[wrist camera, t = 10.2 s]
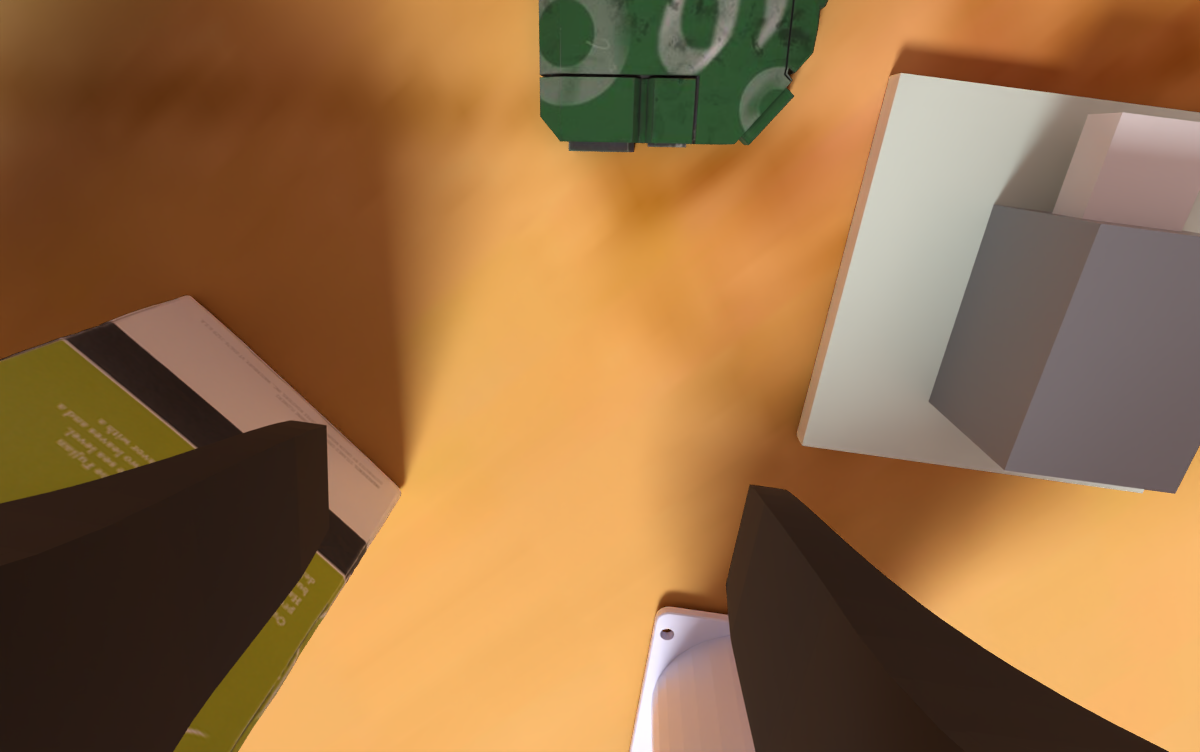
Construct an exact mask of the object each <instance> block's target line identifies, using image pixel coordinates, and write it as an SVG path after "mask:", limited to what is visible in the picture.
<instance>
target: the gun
mask: <svg viewBox="0 0 1200 752" xmlns="http://www.w3.org/2000/svg"><path fill="white" fill-rule="evenodd" d="M827 2H828V0H539V44H540V75H541V76H543V77H542V78H540V117H541V118H542V119H543V120H544V121H545V123H546V124H547V125H548V126H549V128H550V129H551V130H552V131H553V133H554V134H555V135H556V136H557V138H558V139H559V140H560V141H569V151H600V152H634V143H648V147H686V144H735V143H736V142H737V141H738V140H740V141H741V142H742V143H743V144H744V145H749V144H750V143H751V142H752V141H753V140H754V139H755V138H756V137H757V136H758V135H759V134H760V132H761V131H762V130H763V129H764V128H765V127H766V126H767V125H768V124H769V123H770V122H771V121H772V120H773V118H774V117H775V116H776V115H777V114H778V113H779V112H780V111H781V110H782V109H783V108H784V107H785V106H786V105H787V103H788V102H789V101H790V100H791V99H792V98H793V97H794V95H793V94H792V93H791V92H790V91H789V90H788V89H787V88H786V87H787V86H788V85H789V84H790V83H791V81H792V79H791V77H790V76H789V75H791V74H793V73H795V72H796V71H797V70H798V69H799V68H800V67H801V66H802V65H803V63H804V62H805V61H806V60H807V59H808V58H809V57H810V56H811V55H812V53H813V51H814V46H815V41H816V36H817V31H818V24H819V15H820V10H821V9H822V8H824V7H825V6H826V4H827ZM692 140H693V141H692Z"/></svg>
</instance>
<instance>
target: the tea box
mask: <svg viewBox="0 0 1200 752" xmlns="http://www.w3.org/2000/svg"><path fill="white" fill-rule="evenodd" d="M289 420H294V421H301V422H308V423H315V424H322V425H327V457H328V492H329V530H328V532H327V533H326V535H325V537H324V539H323V541H322V543H321V544H320V546H319V548H318V550H317V552H316V554H315V555H314V557H313V559H312V561H311V562H310V564H309V566H308V567H307V569H306V571H305V572H304V574H303V576H302V577H301V579H300V580H299V581H298V583H297V584H296V586H295V587H294V588H293V590H292V591H291V592H290V594H289V595H288V596H287V598H286V599H285V600H284V601H283V603H282V604H281V605H280V607H279V608H278V609H277V611H276V612H275V613H274V615H273V616H272V617H271V618H270V620H269V621H268V622H267V624H266V625H265V626H264V627H263V629H262V630H261V631H260V633H259V634H258V635H257V637H256V638H255V639H254V640H253V642H252V643H251V644H250V646H249V647H248V648H247V649H246V651H245V652H244V653H243V655H242V656H241V657H240V658H239V660H238V661H237V662H236V664H235V665H234V666H233V667H232V669H231V670H230V671H229V673H228V674H227V675H226V676H225V678H224V679H223V680H222V682H221V683H220V684H219V685H218V687H217V688H216V689H215V691H214V692H213V693H212V695H211V696H210V697H209V699H208V700H207V702H206V703H205V704H204V706H203V707H202V709H201V710H200V711H199V713H198V714H197V716H196V717H195V718H194V720H193V721H192V723H191V725H190V726H189V728H188V729H187V731H186V732H185V734H184V736H183V737H182V739H181V740H180V742H179V744H178V745H177V747H176V748H175V750H174V751H173V752H238V751H239V749H240V748H241V746H242V744H243V743H244V741H245V740H246V738H247V736H248V735H249V733H250V731H251V730H252V728H253V727H254V725H255V724H256V722H257V721H258V720H259V718H260V717H261V715H262V714H263V712H264V711H265V709H266V708H267V707H268V705H269V704H270V702H271V701H272V699H273V698H274V697H275V695H276V694H277V692H278V690H279V689H280V687H281V685H282V684H283V682H284V681H285V679H286V677H287V676H288V674H289V673H290V671H291V669H292V668H293V666H294V664H295V662H296V661H297V659H298V657H299V655H300V653H301V652H302V650H303V649H304V647H305V646H306V644H307V643H308V641H309V639H310V638H311V636H312V635H313V633H314V632H315V630H316V628H317V627H318V625H319V624H320V622H321V621H322V620H323V618H324V617H325V615H326V614H327V612H328V610H329V609H330V607H331V605H332V604H333V602H334V601H335V599H336V598H337V596H338V594H339V593H340V591H341V590H342V588H343V587H344V585H345V584H346V583H347V581H348V579H349V577H350V576H351V575H352V573H353V571H354V569H355V568H356V567H357V565H358V564H359V562H360V560H361V558H362V557H363V555H364V554H365V552H366V550H367V548H368V547H369V545H370V544H371V542H372V541H373V540H374V538H375V537H376V535H377V533H378V532H379V530H380V529H381V527H382V526H383V524H384V522H385V521H386V519H387V518H388V516H389V514H390V513H391V511H392V509H393V508H394V506H395V505H396V503H397V501H398V500H399V498H400V496H401V491H400V489H399V487H398V486H397V485H396V484H395V483H394V482H393V481H392V480H391V479H390V478H388V477H387V476H386V475H385V474H384V473H383V472H382V471H381V470H380V469H379V468H378V467H377V466H376V465H375V464H374V463H373V462H372V461H371V460H370V459H369V458H367V457H366V456H365V455H364V454H363V453H362V452H361V451H360V450H359V449H358V448H357V447H356V446H355V445H354V444H352V443H351V442H350V441H349V440H348V439H347V438H346V437H345V436H344V435H343V434H342V433H341V432H340V431H339V430H337V429H336V428H335V427H334V426H333V425H332V424H331V423H330V422H329V421H328V420H327V419H326V418H325V417H324V416H322V415H321V414H320V413H319V412H318V411H317V410H316V409H315V408H314V407H313V406H312V405H311V404H309V403H308V402H307V401H306V400H305V399H304V398H303V397H302V396H301V395H300V394H299V393H298V392H297V391H295V390H294V389H293V388H292V387H291V386H290V385H289V384H288V383H287V382H286V381H285V380H284V379H282V378H281V377H280V376H279V375H278V374H277V373H276V372H275V371H274V370H273V369H272V368H271V367H270V366H268V365H267V364H266V363H265V362H264V361H263V360H262V359H261V358H260V357H259V356H258V355H256V354H255V353H254V352H253V351H252V350H251V349H250V348H249V347H248V346H247V345H246V344H245V343H244V342H243V341H242V340H240V339H239V338H238V337H237V336H236V335H235V334H234V333H233V332H231V331H230V330H229V329H228V328H227V327H226V326H225V325H224V324H222V323H221V322H220V321H219V320H218V319H217V318H216V317H215V316H213V315H212V314H211V313H210V312H209V311H208V310H207V309H205V308H204V307H203V306H202V305H200V304H199V303H198V302H197V301H196V300H195V299H194V298H192V297H191V296H189V295H185V296H182V297H179V298H177V299H174V300H170V301H167V302H164V303H161V304H157V305H153V306H150V307H147V308H143V309H140V310H137V311H134V312H131V313H128V314H125V315H123V316H120V317H118V318H115V319H113V320H111V321H108V322H105V323H103V324H101V325H99V326H96V327H93V328H90V329H86V330H83V331H81V332H79V333H76V334H73V335H69V336H65V337H62V338H58V339H56V340H53V341H50V342H47V343H44V344H42V345H39V346H36V347H33V348H30V349H27V350H24V351H21V352H18V353H16V354H13V355H11V356H8V357H6V358H3V359H0V503H4V502H9V501H13V500H17V499H22V498H26V497H30V496H35V495H39V494H43V493H47V492H52V491H56V490H59V489H63V488H67V487H71V486H75V485H79V484H82V483H86V482H90V481H93V480H97V479H100V478H103V477H107V476H110V475H113V474H117V473H120V472H123V471H127V470H130V469H133V468H137V467H140V466H143V465H146V464H150V463H153V462H156V461H160V460H163V459H166V458H169V457H172V456H175V455H178V454H181V453H184V452H187V451H190V450H193V449H196V448H200V447H203V446H206V445H209V444H212V443H215V442H218V441H221V440H224V439H227V438H230V437H233V436H236V435H239V434H242V433H245V432H248V431H251V430H254V429H258V428H261V427H264V426H268V425H271V424H275V423H279V422H284V421H289Z"/></svg>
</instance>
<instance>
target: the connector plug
mask: <svg viewBox="0 0 1200 752" xmlns="http://www.w3.org/2000/svg"><path fill="white" fill-rule="evenodd" d="M1199 190H1200V122H1194V121H1186V120H1179V119H1171V118H1163V117H1155V116H1148V115H1140V114H1132V113H1124V112H1119V113H1103V114H1088V116H1087V119H1086V122H1085V124H1084V127H1083V130H1082V133H1081V135H1080V138H1079V141H1078V144H1077V146H1076V149H1075V152H1074V155H1073V157H1072V160H1071V163H1070V166H1069V168H1068V171H1067V174H1066V177H1065V179H1064V182H1063V185H1062V188H1061V190H1060V193H1059V196H1058V199H1057V201H1056V204H1055V207H1054V210H1053V212H1047V211H1039V210H1032V209H1024V208H1017V207H1009V206H1001V205H993V208H992V211H991V214H990V217H989V220H988V223H987V226H986V229H985V232H984V235H983V238H982V241H981V244H980V247H979V250H978V253H977V256H976V259H975V262H974V265H973V268H972V272H971V275H970V278H969V281H968V284H967V287H966V290H965V293H964V296H963V299H962V302H961V305H960V308H959V311H958V314H957V317H956V320H955V323H954V326H953V329H952V332H951V335H950V338H949V341H948V344H947V347H946V350H945V353H944V356H943V359H942V362H941V365H940V368H939V371H938V374H937V377H936V380H935V383H934V386H933V390H932V393H931V396H930V399H929V403H930V404H931V405H933V406H934V407H935V408H936V409H937V410H938V411H939V412H940V413H941V414H942V415H944V416H945V417H946V418H947V419H948V420H949V421H950V422H951V423H952V424H954V425H955V426H956V427H957V428H958V429H959V430H960V431H961V432H962V433H964V434H965V435H966V436H967V437H968V438H969V439H970V440H971V441H972V442H973V443H975V444H976V445H977V446H978V447H979V448H980V449H981V450H982V451H983V452H985V453H986V454H987V455H988V456H989V457H990V458H991V459H992V460H993V461H995V462H996V463H997V464H998V465H999V466H1000V467H1001V468H1002V469H1003V470H1006V471H1013V472H1020V473H1028V474H1035V475H1042V476H1050V477H1057V478H1064V479H1072V480H1079V481H1086V482H1094V483H1101V484H1108V485H1116V486H1123V487H1130V488H1138V489H1145V490H1152V491H1160V492H1167V493H1174V494H1175V493H1176V491H1177V489H1178V487H1179V485H1180V483H1181V481H1182V479H1183V477H1184V475H1185V473H1186V471H1187V469H1188V467H1189V465H1190V463H1191V461H1192V459H1193V457H1194V456H1195V454H1196V452H1197V450H1198V448H1199V446H1200V233H1195V232H1189V231H1183V230H1182V229H1183V227H1184V225H1185V222H1186V220H1187V218H1188V215H1189V213H1190V211H1191V209H1192V206H1193V204H1194V202H1195V199H1196V197H1197V195H1198V193H1199Z"/></svg>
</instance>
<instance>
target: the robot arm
mask: <svg viewBox="0 0 1200 752" xmlns="http://www.w3.org/2000/svg"><path fill="white" fill-rule="evenodd" d="M328 530H329V492H328V457H327V425H322V424H315V423H308V422H301V421H294V420H289V421H284V422H279V423H275V424H271V425H268V426H264V427H261V428H258V429H254V430H251V431H248V432H245V433H242V434H239V435H236V436H233V437H230V438H227V439H224V440H221V441H218V442H215V443H212V444H209V445H206V446H203V447H200V448H196V449H193V450H190V451H187V452H184V453H181V454H178V455H175V456H172V457H169V458H166V459H163V460H160V461H156V462H153V463H150V464H146V465H143V466H140V467H137V468H133V469H130V470H127V471H123V472H120V473H117V474H113V475H110V476H107V477H103V478H100V479H97V480H93V481H90V482H86V483H82V484H79V485H75V486H71V487H67V488H63V489H59V490H56V491H52V492H47V493H43V494H39V495H35V496H30V497H26V498H22V499H17V500H13V501H9V502H4V503H0V752H173V751H174V750H175V748H176V747H177V745H178V744H179V742H180V740H181V739H182V737H183V736H184V734H185V732H186V731H187V729H188V728H189V726H190V725H191V723H192V721H193V720H194V718H195V717H196V716H197V714H198V713H199V711H200V710H201V709H202V707H203V706H204V704H205V703H206V702H207V700H208V699H209V697H210V696H211V695H212V693H213V692H214V691H215V689H216V688H217V687H218V685H219V684H220V683H221V682H222V680H223V679H224V678H225V676H226V675H227V674H228V673H229V671H230V670H231V669H232V667H233V666H234V665H235V664H236V662H237V661H238V660H239V658H240V657H241V656H242V655H243V653H244V652H245V651H246V649H247V648H248V647H249V646H250V644H251V643H252V642H253V640H254V639H255V638H256V637H257V635H258V634H259V633H260V631H261V630H262V629H263V627H264V626H265V625H266V624H267V622H268V621H269V620H270V618H271V617H272V616H273V615H274V613H275V612H276V611H277V609H278V608H279V607H280V605H281V604H282V603H283V601H284V600H285V599H286V598H287V596H288V595H289V594H290V592H291V591H292V590H293V588H294V587H295V586H296V584H297V583H298V581H299V580H300V579H301V577H302V576H303V574H304V572H305V571H306V569H307V567H308V566H309V564H310V562H311V561H312V559H313V557H314V555H315V554H316V552H317V550H318V548H319V546H320V544H321V543H322V541H323V539H324V537H325V535H326V533H327V532H328ZM726 592H727V606H728V615H726V614H719V613H712V612H705V611H698V610H691V609H684V608H677V607H664V608H661V609H660V610H659V611H658V612H657V614H656V616H655V622H654V627H653V632H652V637H651V642H650V647H649V652H648V657H647V663H646V668H645V673H644V678H643V683H642V688H641V693H640V698H639V703H638V709H637V714H636V719H635V724H634V729H633V734H632V739H631V744H630V749H629V752H1168V751H1166V750H1164V749H1162V748H1161V747H1159V746H1157V745H1155V744H1153V743H1151V742H1149V741H1147V740H1145V739H1143V738H1141V737H1139V736H1137V735H1135V734H1133V733H1131V732H1129V731H1127V730H1125V729H1123V728H1121V727H1119V726H1117V725H1115V724H1113V723H1111V722H1109V721H1107V720H1106V719H1104V718H1102V717H1100V716H1098V715H1096V714H1095V713H1093V712H1091V711H1089V710H1087V709H1085V708H1083V707H1082V706H1080V705H1078V704H1076V703H1074V702H1072V701H1071V700H1069V699H1067V698H1065V697H1064V696H1062V695H1060V694H1058V693H1057V692H1055V691H1053V690H1052V689H1050V688H1048V687H1047V686H1045V685H1043V684H1041V683H1040V682H1038V681H1036V680H1035V679H1033V678H1031V677H1030V676H1028V675H1026V674H1024V673H1023V672H1021V671H1019V670H1018V669H1016V668H1014V667H1013V666H1011V665H1009V664H1008V663H1006V662H1005V661H1003V660H1002V659H1000V658H998V657H997V656H995V655H994V654H992V653H990V652H989V651H987V650H986V649H984V648H983V647H981V646H980V645H978V644H977V643H975V642H974V641H972V640H971V639H970V638H968V637H967V636H965V635H964V634H962V633H961V632H959V631H958V630H956V629H955V628H953V627H952V626H951V625H949V624H948V623H946V622H945V621H943V620H942V619H940V618H939V617H938V616H936V615H935V614H934V613H932V612H931V611H929V610H928V609H927V608H925V607H924V606H923V605H921V604H920V603H919V602H917V601H916V600H915V599H914V598H912V597H911V596H910V595H909V594H907V593H906V592H905V591H904V590H902V589H901V588H900V587H898V586H897V585H896V584H895V583H893V582H892V581H891V580H890V579H888V578H887V577H886V576H885V575H884V574H882V573H881V572H880V571H879V570H878V569H876V568H875V567H874V566H873V565H872V564H870V563H869V562H868V561H867V560H866V559H865V558H863V557H862V556H861V555H860V554H859V553H858V552H857V551H855V550H854V549H853V548H852V547H851V546H850V545H849V544H848V543H846V542H845V541H844V540H843V539H842V538H841V537H840V536H839V535H838V534H836V533H835V532H834V531H833V530H832V529H831V528H830V527H829V526H828V525H826V524H825V523H824V522H823V521H822V520H821V519H820V518H819V517H818V516H817V515H816V514H814V513H813V512H812V511H811V510H810V509H809V508H808V507H807V506H805V505H804V504H803V503H802V502H801V501H800V500H799V499H797V498H796V497H795V496H794V495H792V494H791V493H790V492H788V491H787V490H784V489H777V488H770V487H763V486H756V485H750V486H749V490H748V494H747V498H746V503H745V507H744V511H743V515H742V519H741V523H740V528H739V532H738V536H737V540H736V544H735V549H734V553H733V557H732V561H731V565H730V569H729V574H728V578H727V582H726ZM664 629H670V630H672V631H670V632H663V631H662V630H664Z"/></svg>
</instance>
